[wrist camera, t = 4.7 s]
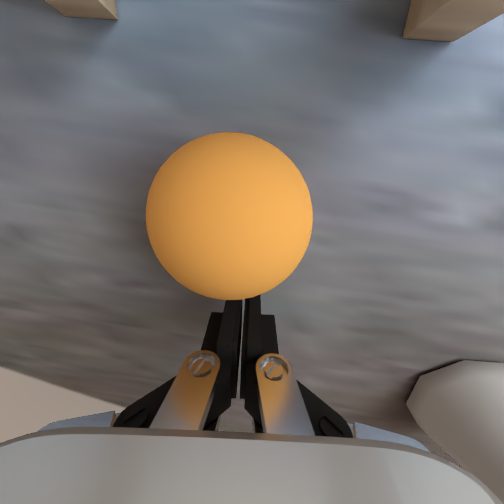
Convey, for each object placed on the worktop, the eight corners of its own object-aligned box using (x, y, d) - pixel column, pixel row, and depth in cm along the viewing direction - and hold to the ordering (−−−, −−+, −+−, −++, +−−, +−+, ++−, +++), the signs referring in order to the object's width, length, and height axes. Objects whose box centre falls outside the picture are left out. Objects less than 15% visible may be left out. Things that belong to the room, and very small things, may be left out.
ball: (309, 301, 11) (300, 185, 12) (341, 288, 5) (315, 70, 6) (184, 305, 11) (190, 194, 13) (82, 296, 6) (115, 98, 7)
